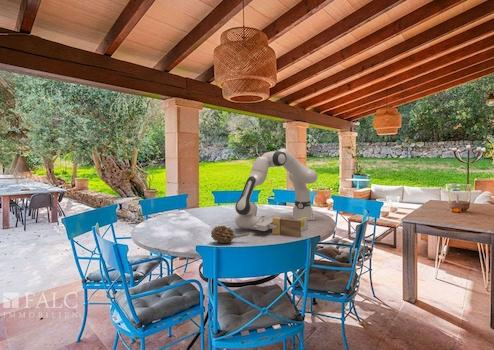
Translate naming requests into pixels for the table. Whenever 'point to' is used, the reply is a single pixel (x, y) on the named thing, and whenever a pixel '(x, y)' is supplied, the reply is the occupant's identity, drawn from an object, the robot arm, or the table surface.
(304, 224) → the candy box
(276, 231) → the ochre stub
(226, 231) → the pine cone
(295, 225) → the walnut board
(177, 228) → the table surface
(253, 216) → the robot arm
